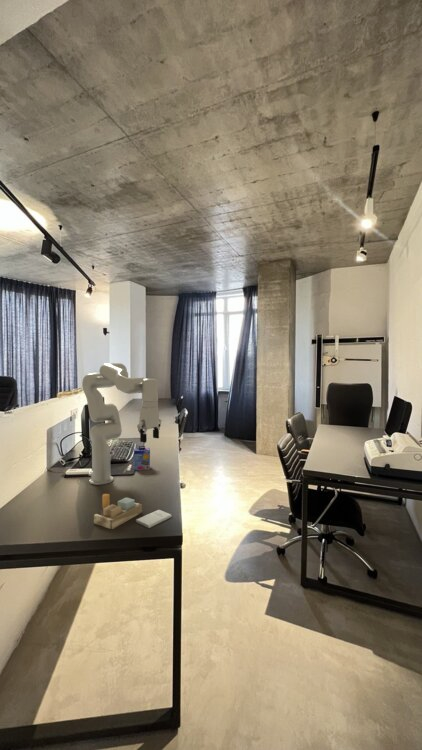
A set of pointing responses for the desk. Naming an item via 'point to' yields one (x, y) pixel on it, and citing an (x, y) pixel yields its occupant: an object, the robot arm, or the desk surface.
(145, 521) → the external hard drive
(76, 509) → the desk surface
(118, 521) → the shelf lanes
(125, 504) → the block
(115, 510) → the plain block
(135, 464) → the ink cartridge box
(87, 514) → the desk surface
